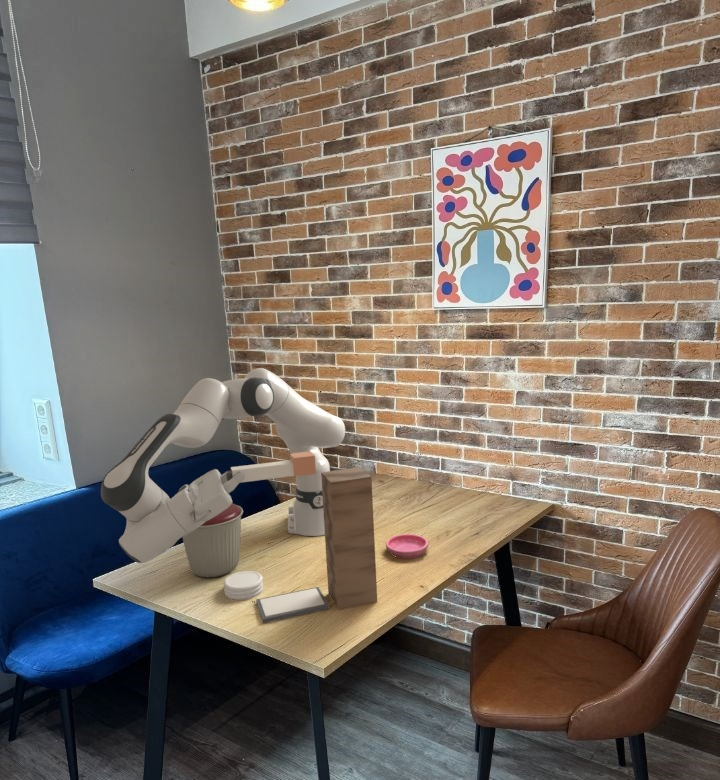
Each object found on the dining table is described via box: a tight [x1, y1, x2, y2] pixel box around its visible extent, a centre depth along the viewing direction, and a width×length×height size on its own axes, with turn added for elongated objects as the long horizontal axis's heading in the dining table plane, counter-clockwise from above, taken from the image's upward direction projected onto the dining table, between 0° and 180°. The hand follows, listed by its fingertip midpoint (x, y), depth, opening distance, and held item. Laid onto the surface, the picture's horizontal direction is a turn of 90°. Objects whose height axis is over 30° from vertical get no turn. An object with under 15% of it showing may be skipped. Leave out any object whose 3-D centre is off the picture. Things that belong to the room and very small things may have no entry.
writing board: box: [255, 586, 330, 624], centre depth 146 cm, size 10×16×1 cm, turn 109°
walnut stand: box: [321, 466, 378, 611], centre depth 146 cm, size 9×10×32 cm
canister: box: [182, 502, 244, 578], centre depth 167 cm, size 18×18×21 cm
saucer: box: [385, 533, 429, 560], centre depth 173 cm, size 12×12×3 cm
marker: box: [225, 451, 316, 484], centre depth 137 cm, size 4×20×4 cm, turn 109°
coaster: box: [223, 570, 264, 601], centre depth 155 cm, size 10×10×4 cm
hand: (241, 472), depth 135 cm, fingers closed on marker, 3 cm apart
